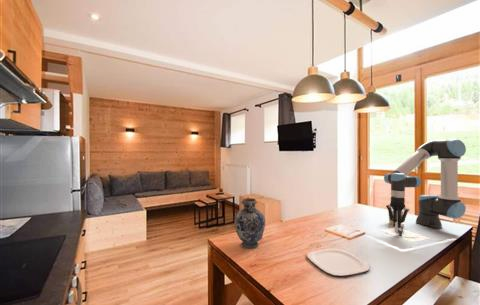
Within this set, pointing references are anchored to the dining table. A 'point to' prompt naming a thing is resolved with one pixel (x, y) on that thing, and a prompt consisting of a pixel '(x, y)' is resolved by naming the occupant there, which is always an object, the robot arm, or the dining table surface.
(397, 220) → the coffee cup
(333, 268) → the plate
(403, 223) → the dark grey lever
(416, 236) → the gauge board
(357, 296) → the dining table surface
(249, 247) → the decorative vase
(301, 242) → the dining table surface
